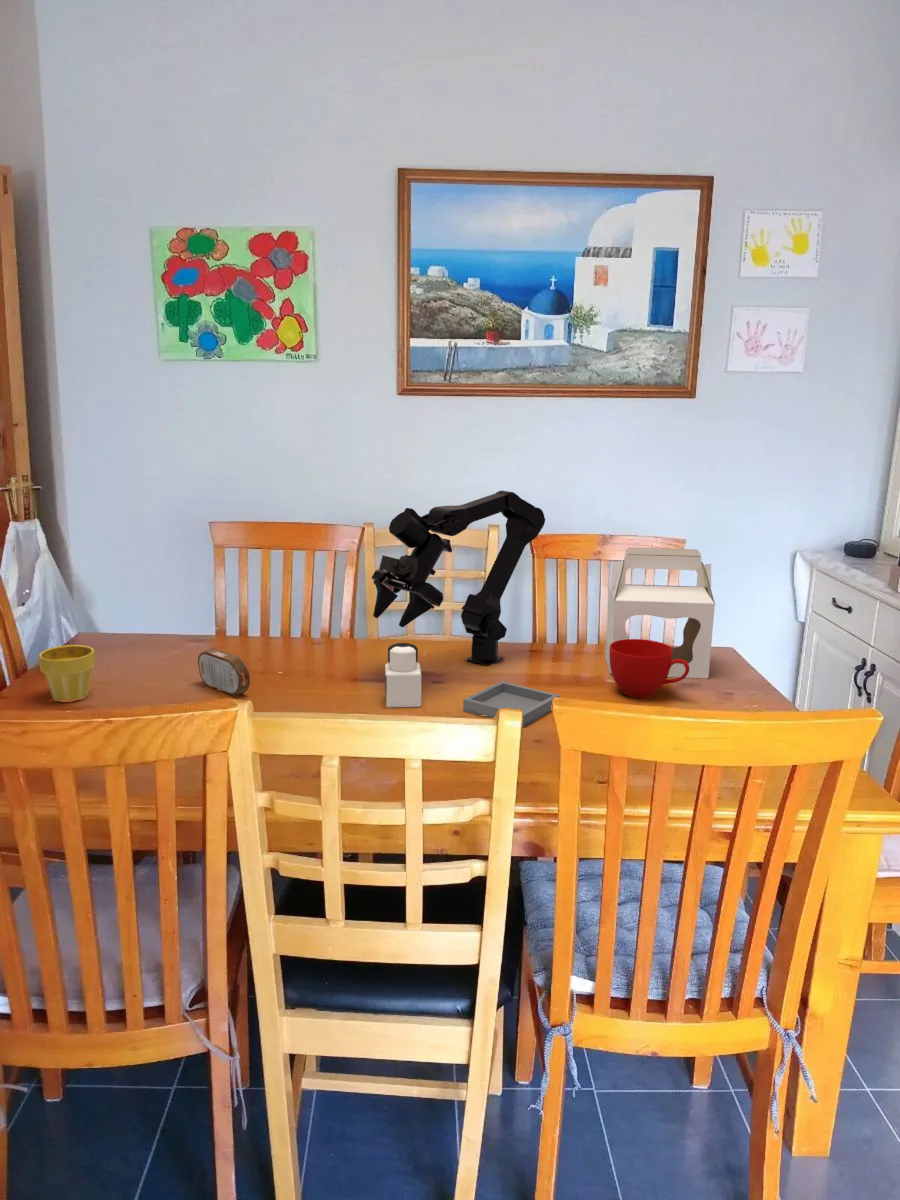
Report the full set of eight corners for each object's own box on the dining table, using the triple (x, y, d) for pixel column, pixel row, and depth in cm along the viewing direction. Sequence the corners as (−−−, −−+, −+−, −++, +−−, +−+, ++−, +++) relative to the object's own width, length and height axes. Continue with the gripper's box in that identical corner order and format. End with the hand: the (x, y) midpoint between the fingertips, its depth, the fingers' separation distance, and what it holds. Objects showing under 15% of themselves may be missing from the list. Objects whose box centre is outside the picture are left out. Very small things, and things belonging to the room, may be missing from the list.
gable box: (608, 675, 199) (616, 553, 192) (604, 657, 211) (610, 542, 205) (709, 679, 197) (720, 555, 190) (698, 661, 210) (708, 545, 203)
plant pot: (95, 703, 177) (91, 657, 175) (39, 708, 174) (34, 661, 172) (100, 687, 187) (96, 642, 185) (47, 691, 184) (42, 646, 182)
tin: (252, 696, 182) (250, 658, 180) (239, 700, 180) (237, 661, 178) (209, 680, 192) (206, 643, 190) (196, 684, 190) (194, 646, 188)
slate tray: (501, 692, 187) (501, 681, 186) (559, 706, 179) (560, 695, 178) (463, 711, 176) (463, 699, 175) (523, 727, 168) (523, 715, 167)
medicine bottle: (385, 695, 184) (384, 640, 181) (419, 695, 184) (419, 640, 182) (385, 708, 177) (385, 650, 174) (421, 707, 178) (421, 650, 175)
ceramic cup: (676, 711, 177) (680, 664, 174) (597, 695, 186) (600, 649, 183) (695, 693, 188) (699, 648, 185) (620, 678, 196) (623, 635, 194)
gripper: (373, 533, 192) (337, 595, 189) (426, 546, 178) (388, 613, 175) (406, 559, 199) (371, 619, 196) (459, 573, 185) (423, 638, 182)
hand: (387, 621), depth 187 cm, fingers open, 9 cm apart
